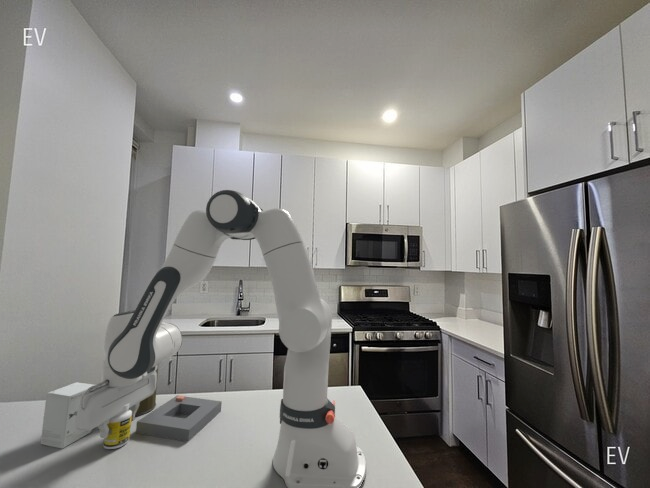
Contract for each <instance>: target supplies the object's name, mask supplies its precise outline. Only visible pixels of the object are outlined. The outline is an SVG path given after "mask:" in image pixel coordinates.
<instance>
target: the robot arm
mask: <svg viewBox="0 0 650 488" xmlns="http://www.w3.org/2000/svg"><path fill="white" fill-rule="evenodd" d="M227 239H231V240H239V241H240V240H241V241H242V240H243V241H251V240H255V239H256V241H257V242H258V245H259V248H260V251H261V253H262V254H261V255H262V256H263V260H264V262H265V263H264V264H265V266H266V269H267V272H268V275H269V278H270V281H271V283H272V285H271V286H272V287H273V293H274V301H275V306H276V307H275V308H276V312H277V318H278V334H279V338H280V340H281V342H282V344H283V345H284V346H285V347H286V348H287V353H286V359H285V363H284V367H283V387H282V399H280V405H279V424H280V427H279V428H280V429H279V433H278V439H277V444H276V449H275V451H274V454H273V458H272V466H273V469H274V470H275V472H276V473H277V474H278V475H279V476H281V477H282V479H283V481H284V483H285V485H286V487H287V488H357V487H359V486H360V485H361V483H362V482H363V480H364V481H365V479H366V475H365V473H367V462H366V457H365V454H364V453H365V452H364V451H363V450H362V449H361V448H360V447H359V446H357V442H356V438H355V434H354V432H353V431H352V429H351V428H349V426H347V425H346V424H345V423H344V422H343V421H341V419H339V418H338V417H337V416H336V402H335V400H333V401H332V402H331V400H330V399H328V390H329V389H328V388H329V386H328V385H329V364H330V356H331V355H330V352H331V351H330V350H331V337H332V324H333V314H332V309H331V308H330V306H329V303H327V302H326V300H324V299H323V298H321V297H320V294H319V289H318V286H317V282H316V277H315V271H314V268H313V266H312V262H311V260H310V256H309V254H308V251H307V249H306V246H305V243H304V240H303V238H302V235H301V233H300V230H299V229H298V226H297V225H296V222H295V220H294V219H293V218H292V216H291V214H290V213H289V212H288V211H287V210H286V209H283V208H278V207H277V208H270V209H267V210H263V209H262V208H261V207H260V206H259V205H257V203H256V202H255V201H253V199H251V198H249V197H247V196H245V195H244V193H241V192H239V191H237V190H234V189H233V190H231V189H223V190H220V191H219V190H218V191H217V192H215V193H214V194H213V195H211V197H210V198H209V199H208V201H207V203H206V208H205V210H203V209H202V210H200V209H198V210H195V211H194V210H193V211H192V212H191V213H190V214H189V215H188V216H187V218H186V220H185V221H184V222H183V224H182V226H181V228H180V229H179V231H178V233H177V235H176V237H175V239H174V241H173V244H172V247H171V249H170V251H169V253H168V255H167V257H166V258H165V260H164V262H163V264H162V265H161V267H160V268H159V269H158V270H157V272H156V273H155V275H154V276H153V277H152V278H151V281H150V282H149V284H148V285H147V288H146V289H145V291H144V293H143V295H142V297H141V298H140V301H139V302H138V304H137V306H136V308H135V309H134V310H129V311H124V312H119V313H115V314H114V315H113V316H111V317H110V319H109V320H108V323H107V327H106V330H105V331H106V332H105V338H104V351H105V356H104V360H103V362H102V369H101V378H100V379H101V380H100V382H99V383H96V384H93V385H94V386H91V387H89V388H88V390H87V391H86V392H85V393H84V394H83V395H82V397H81V401H80V404H79V408H78V412H77V416H76V422H75V427H76V428H77V429H79V430H84V431H90V430H93V429H95V428H97V427H98V429H99V431H100V432H99V433H100V435H99V436H100V437H99V438H101V439H104V438H107V437H108V436H110V435H111V434H112V432H111V431H112V428H109V427H108V426H107V424H108V423H109V419H111V418H113V417H114V416H116V415H118V414H120V413H121V412H122V411H123V407H124V406H125V405H127V404H129V408H130V410H131V411H132V418H131V423H132V422H133V421H135V419H136V416H135V413H136V411H137V409H138V407H139V405H140V401H142V400H144V399H146V398H147V397H149V396H151V395H153V393H154V391H155V389H156V382H157V383H158V377H157V373H156V370H157V367H158V368H159V365H158V364H161V363H163V362H165V361H166V360H168V359H170V358H171V357H173V356H174V355H176V354H177V353H178V352H179V351H180V349H181V347H182V343H183V335H182V332H181V330H180V329H179V328H178V326H176V325H175V324H173V323H169V322H164V319H165V317H166V315H167V314H168V311H169V309H170V308H171V305H172V304H173V303H174V302H175V300H177V298H178V297H179V296H181V294H183V293H184V292H185V291H187V290H189V289H190V288H192V287H194V286H195V285H197V284H199V283H201V282H203V281H204V280H205V279H206V277H207V276H208V274H209V273H210V271H211V269H212V268H213V266H214V263H215V261H216V258H217V256H218V254H219V250H220V248H221V246H222V244H223V243H224V242H225V241H226V240H227ZM87 392H88V393H87ZM360 455H361V456H360ZM364 478H365V479H364ZM363 483H364V482H363Z"/></svg>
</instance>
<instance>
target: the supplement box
mask: <svg viewBox="0 0 650 488" xmlns="http://www.w3.org/2000/svg"><path fill="white" fill-rule="evenodd" d="M94 385H95V384H93V383H83V382H78V381H76V382H73V383H71V384H68V385H65V386H63V387H60V388H57V389H55V390H52V391H48V392H47V393H46V395H45V396H46V397H45V403H44V413H43V422H42V429H41V438H40V445H43V446H48V447H53V448H57V449H64V448H66V447H68V446H69V445H71V444H73V443H74V442H76V441H78V440H80V439H81V438H83V437H85V436H86V435H89V434H91V433H93V432H92V430H93V429H92V430H90V431H84V430H79V429H77V428H76V427H75V422H76V416H77V412H78V408H79V404H80V401H81V397H82V395H83V394H84V393H85V392H86V391H87V390H88V388H89V387H91V386H94ZM87 393H88V392H87Z"/></svg>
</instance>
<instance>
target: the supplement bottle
mask: <svg viewBox="0 0 650 488" xmlns="http://www.w3.org/2000/svg"><path fill="white" fill-rule="evenodd" d="M131 418H132V411H131V410H130V409H129V404H127V405H125V406H124V407H123V411H122V412H121V413H120V414H118V415H116V416H114V417H113V418H111V419H109V423H108V424H107V426H108V427H109V428H112V431H111V432H112V434H111V435H110V436H108V437H107V438H103V448H104V449H106V450H115V449H116V450H117V449H118V448H121V447H123V446H125V445H127V443H129V441H130V438H131V426H132V422H131Z"/></svg>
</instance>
